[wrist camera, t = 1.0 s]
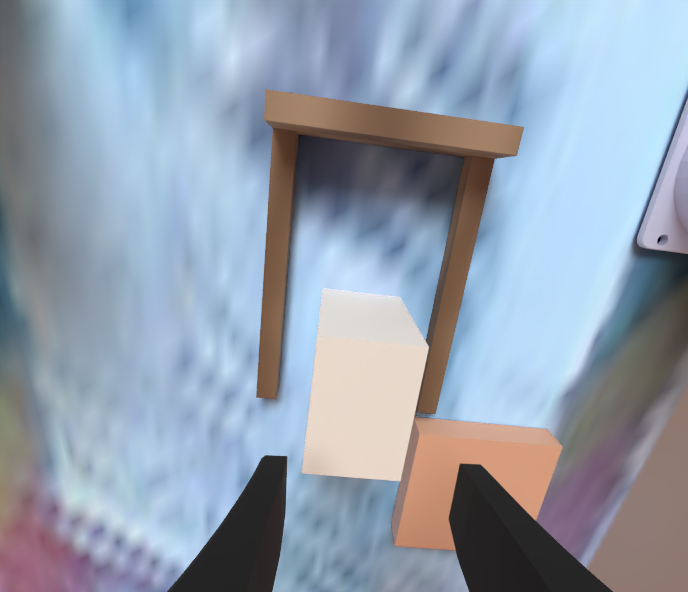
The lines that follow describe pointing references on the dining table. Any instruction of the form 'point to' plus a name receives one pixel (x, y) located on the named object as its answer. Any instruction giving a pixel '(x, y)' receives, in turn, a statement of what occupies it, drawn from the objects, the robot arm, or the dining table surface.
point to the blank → (363, 386)
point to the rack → (391, 131)
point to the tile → (443, 464)
